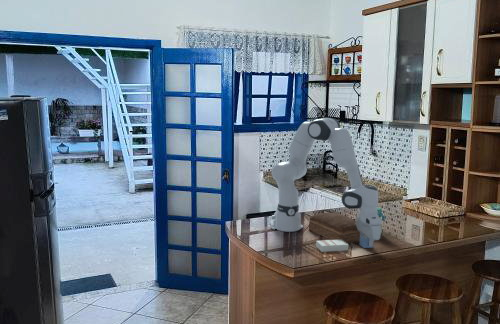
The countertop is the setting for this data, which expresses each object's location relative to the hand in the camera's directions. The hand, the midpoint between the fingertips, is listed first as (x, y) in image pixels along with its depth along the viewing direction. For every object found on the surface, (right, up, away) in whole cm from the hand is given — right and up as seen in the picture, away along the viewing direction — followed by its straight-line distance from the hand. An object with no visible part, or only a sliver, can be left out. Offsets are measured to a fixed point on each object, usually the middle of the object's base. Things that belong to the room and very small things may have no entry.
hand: (366, 243), depth 229 cm
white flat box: (-18, -2, -4) cm, 19 cm away
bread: (-13, +1, +19) cm, 23 cm away
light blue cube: (0, -2, 0) cm, 2 cm away
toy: (+10, +1, +21) cm, 23 cm away
